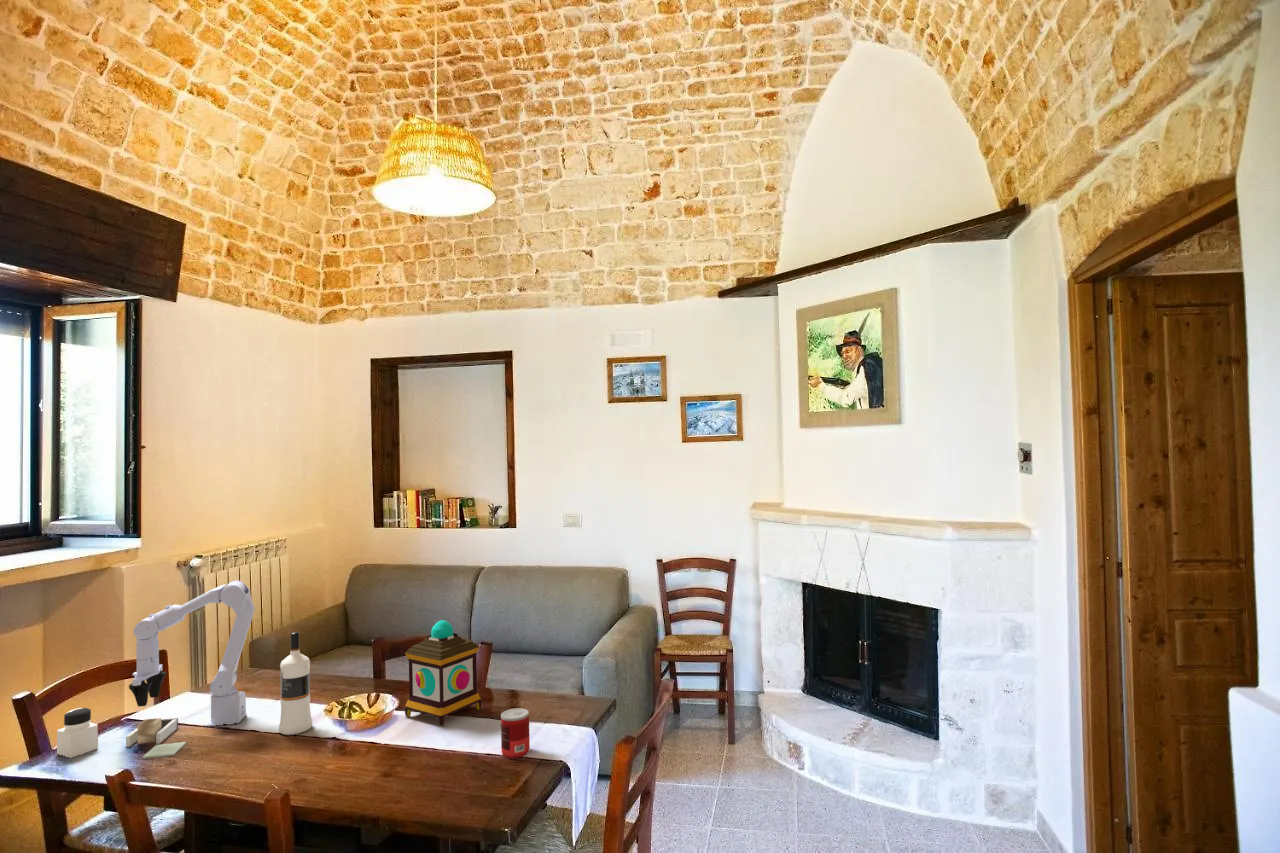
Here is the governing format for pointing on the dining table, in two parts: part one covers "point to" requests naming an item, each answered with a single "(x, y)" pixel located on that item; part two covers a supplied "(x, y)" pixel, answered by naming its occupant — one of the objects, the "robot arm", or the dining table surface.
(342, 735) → the dining table surface
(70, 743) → the medicine bottle
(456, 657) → the decorative lantern
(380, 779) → the dining table surface
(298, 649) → the vodka
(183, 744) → the tile
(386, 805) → the dining table surface
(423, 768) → the dining table surface
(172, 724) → the channel
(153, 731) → the beech block
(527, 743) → the canned food
